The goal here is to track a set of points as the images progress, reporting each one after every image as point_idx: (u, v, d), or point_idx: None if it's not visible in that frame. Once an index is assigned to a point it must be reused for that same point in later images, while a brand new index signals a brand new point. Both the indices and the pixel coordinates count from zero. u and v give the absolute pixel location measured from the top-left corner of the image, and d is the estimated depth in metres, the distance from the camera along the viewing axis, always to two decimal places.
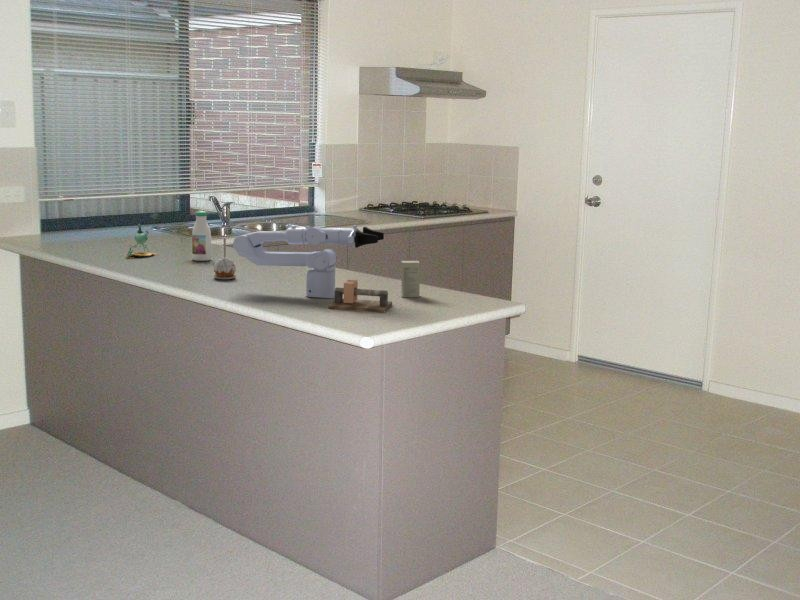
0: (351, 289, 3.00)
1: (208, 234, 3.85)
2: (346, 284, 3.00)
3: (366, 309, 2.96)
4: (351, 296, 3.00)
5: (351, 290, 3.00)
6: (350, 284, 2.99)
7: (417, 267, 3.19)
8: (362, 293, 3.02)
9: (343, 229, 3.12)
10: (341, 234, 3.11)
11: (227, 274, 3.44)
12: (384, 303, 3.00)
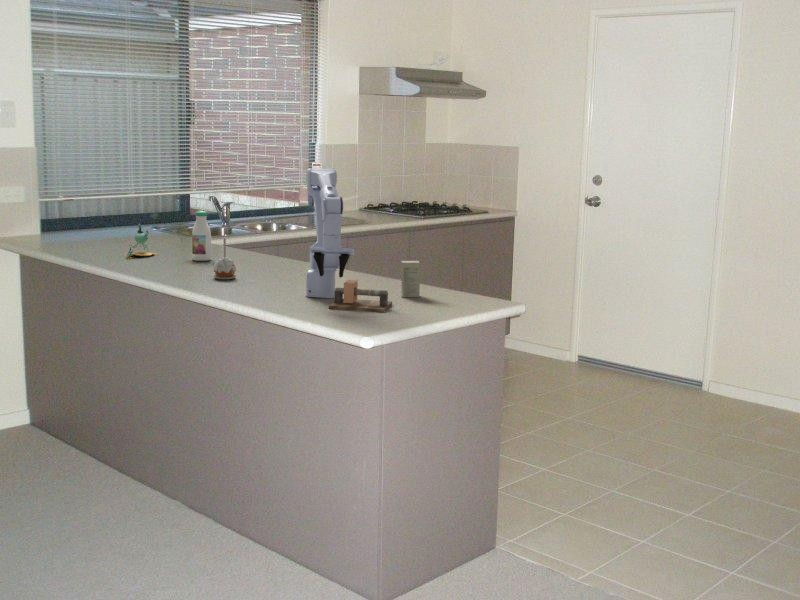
0: (351, 289, 3.00)
1: (208, 234, 3.85)
2: (346, 284, 3.00)
3: (366, 309, 2.96)
4: (351, 296, 3.00)
5: (351, 290, 3.00)
6: (350, 284, 2.99)
7: (417, 267, 3.19)
8: (362, 293, 3.02)
9: (326, 238, 2.99)
10: (323, 237, 3.00)
11: (227, 274, 3.44)
12: (384, 303, 3.00)
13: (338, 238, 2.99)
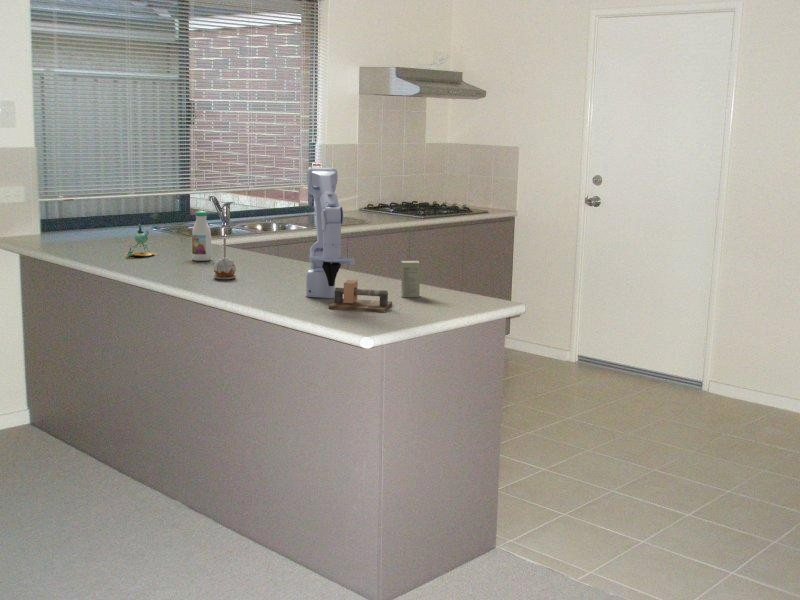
0: (351, 289, 3.00)
1: (208, 234, 3.85)
2: (346, 284, 3.00)
3: (366, 309, 2.96)
4: (351, 296, 3.00)
5: (351, 290, 3.00)
6: (350, 284, 2.99)
7: (417, 267, 3.19)
8: (362, 293, 3.02)
9: (326, 248, 2.99)
10: (323, 246, 3.01)
11: (227, 274, 3.44)
12: (384, 303, 3.00)
13: (338, 248, 3.00)
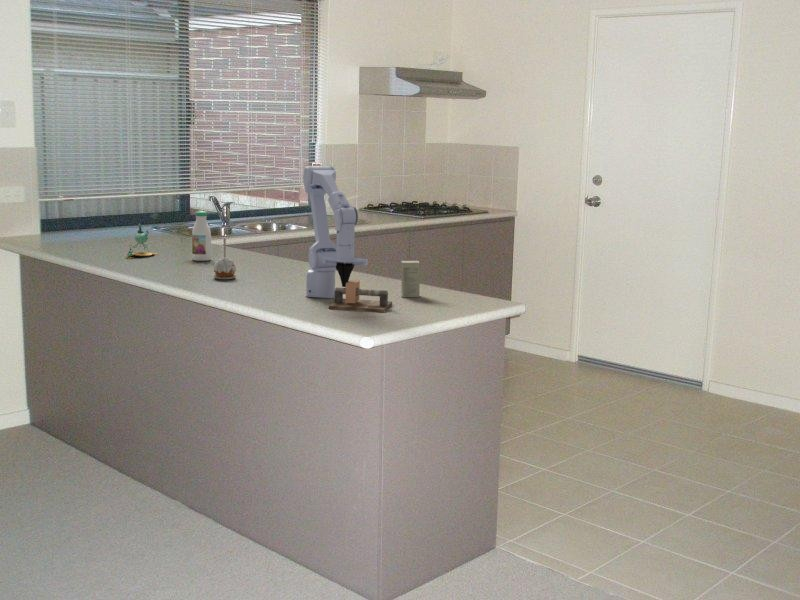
0: (353, 289, 3.00)
1: (208, 234, 3.85)
2: (348, 284, 3.00)
3: (366, 309, 2.96)
4: (353, 296, 3.00)
5: (353, 290, 3.00)
6: (352, 284, 2.99)
7: (417, 267, 3.19)
8: (362, 293, 3.02)
9: (339, 249, 2.99)
10: (336, 247, 3.00)
11: (227, 274, 3.44)
12: (384, 303, 3.00)
13: (352, 248, 2.99)
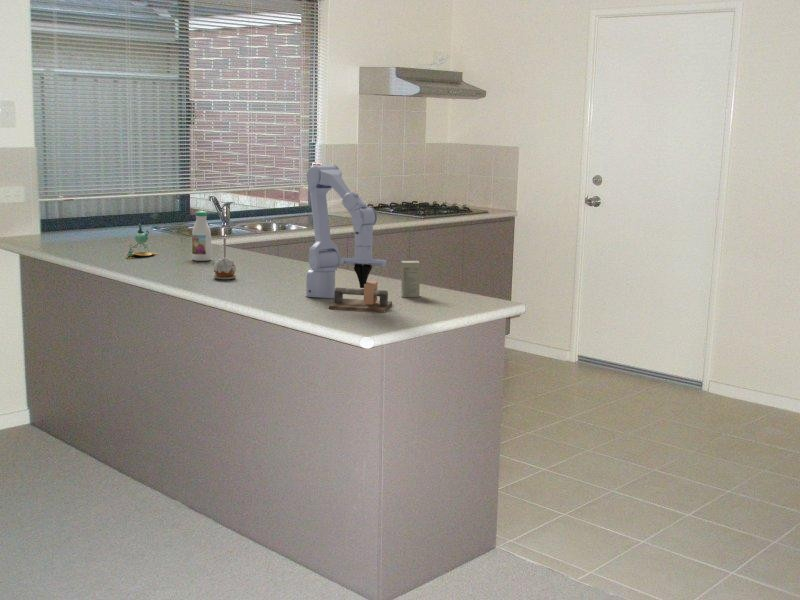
0: (371, 290, 2.98)
1: (208, 234, 3.85)
2: (366, 285, 2.98)
3: (366, 309, 2.96)
4: (371, 297, 2.99)
5: (371, 291, 2.98)
6: (370, 285, 2.98)
7: (417, 267, 3.19)
8: (362, 293, 3.02)
9: (358, 250, 2.97)
10: None
11: (227, 274, 3.44)
12: (384, 303, 3.00)
13: (370, 249, 2.98)
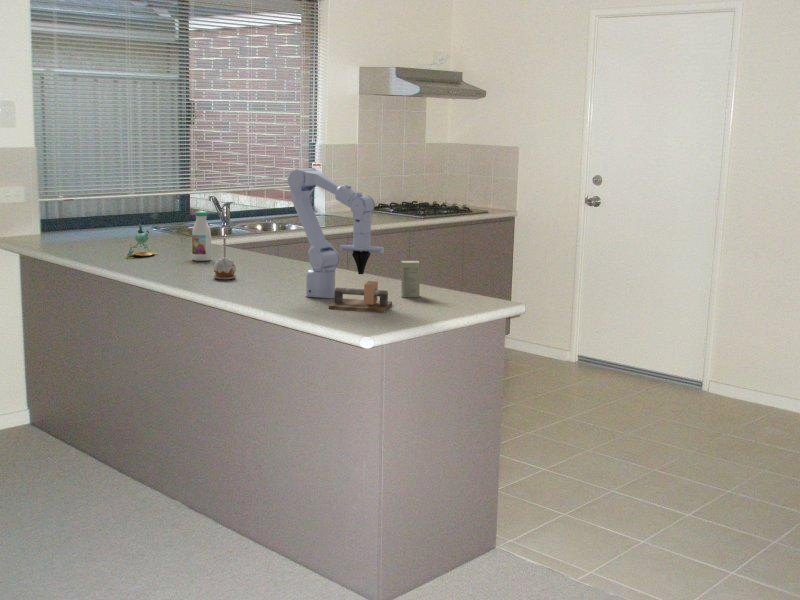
0: (372, 290, 2.98)
1: (208, 234, 3.85)
2: (366, 285, 2.98)
3: (366, 309, 2.96)
4: (371, 297, 2.99)
5: (372, 291, 2.98)
6: (371, 285, 2.98)
7: (417, 267, 3.19)
8: (362, 293, 3.02)
9: (356, 237, 3.05)
10: (353, 235, 3.07)
11: (227, 274, 3.44)
12: (384, 303, 3.00)
13: (368, 236, 3.06)
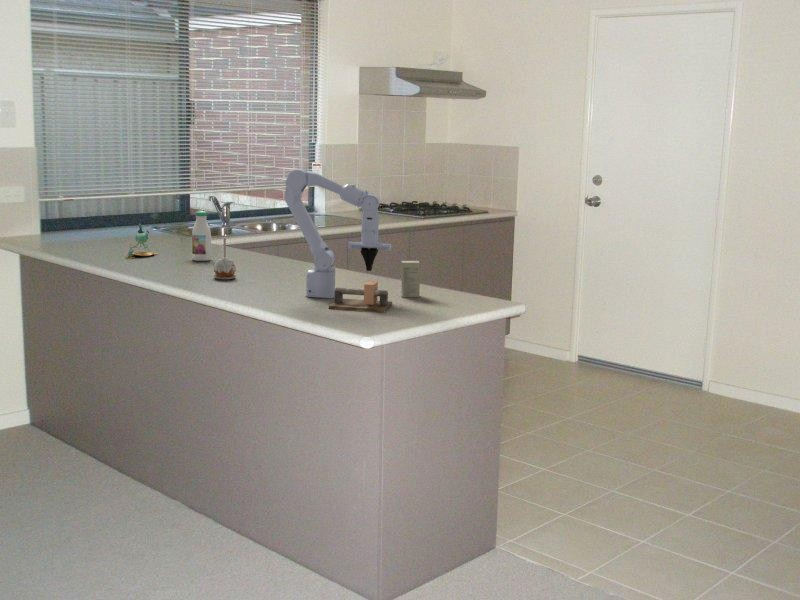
0: (372, 290, 2.98)
1: (208, 234, 3.85)
2: (366, 285, 2.98)
3: (366, 309, 2.96)
4: (371, 297, 2.99)
5: (372, 291, 2.98)
6: (371, 285, 2.98)
7: (417, 267, 3.19)
8: (362, 293, 3.02)
9: (364, 234, 3.12)
10: (361, 232, 3.14)
11: (227, 274, 3.44)
12: (384, 303, 3.00)
13: (376, 234, 3.13)
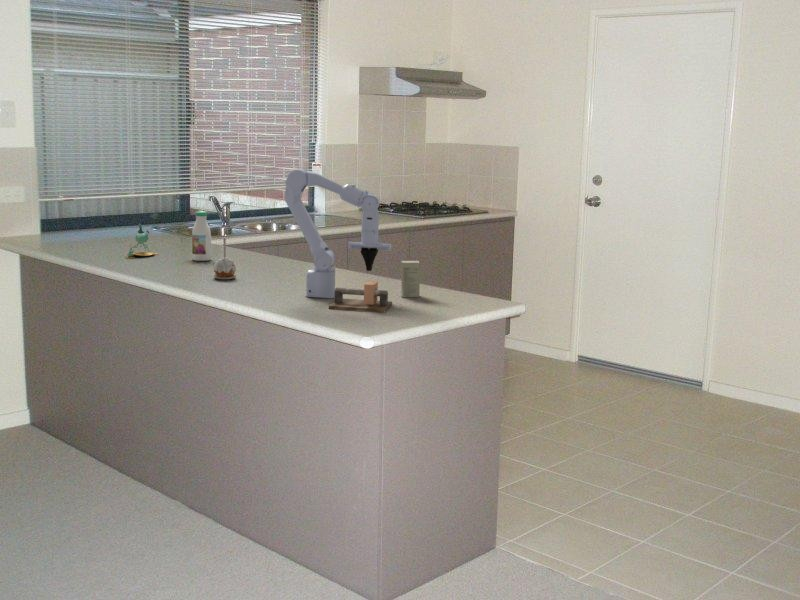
0: (372, 290, 2.98)
1: (208, 234, 3.85)
2: (366, 285, 2.98)
3: (366, 309, 2.96)
4: (371, 297, 2.99)
5: (372, 291, 2.98)
6: (371, 285, 2.98)
7: (417, 267, 3.19)
8: (362, 293, 3.02)
9: (364, 234, 3.12)
10: (361, 232, 3.14)
11: (227, 274, 3.44)
12: (384, 303, 3.00)
13: (376, 234, 3.13)
